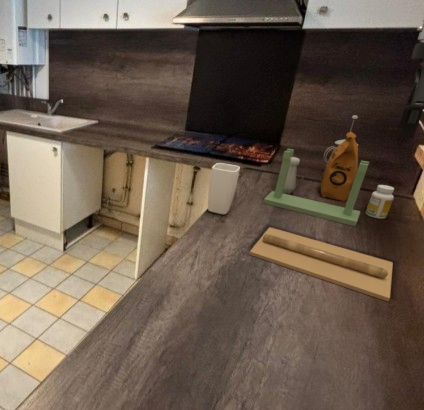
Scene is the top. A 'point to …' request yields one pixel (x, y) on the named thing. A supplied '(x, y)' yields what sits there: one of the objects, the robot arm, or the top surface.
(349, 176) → the coffee package
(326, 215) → the rack
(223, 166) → the cup
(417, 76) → the robot arm
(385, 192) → the supplement bottle
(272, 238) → the rod
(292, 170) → the salt shaker
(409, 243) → the top surface
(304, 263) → the mat
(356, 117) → the french press
